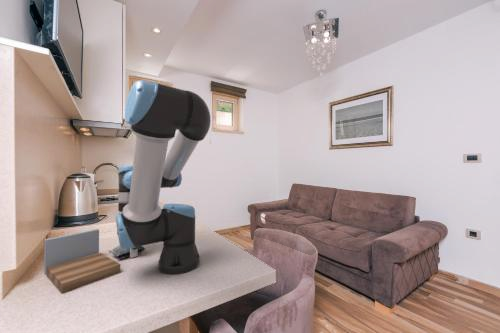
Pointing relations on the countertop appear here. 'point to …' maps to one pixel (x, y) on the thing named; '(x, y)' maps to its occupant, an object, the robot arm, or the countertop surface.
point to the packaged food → (124, 252)
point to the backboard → (70, 247)
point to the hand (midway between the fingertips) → (128, 254)
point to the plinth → (82, 272)
